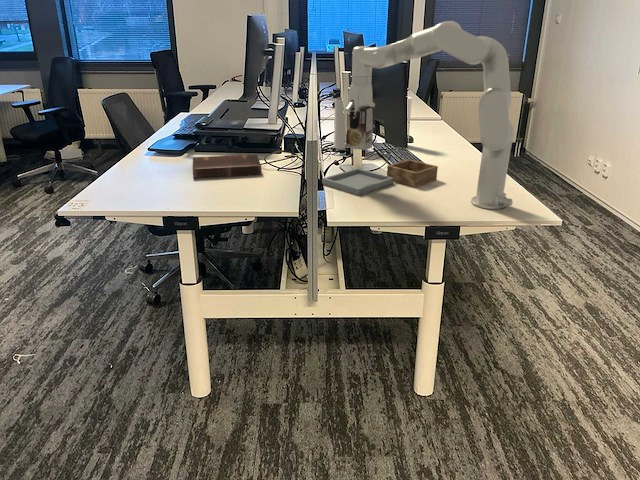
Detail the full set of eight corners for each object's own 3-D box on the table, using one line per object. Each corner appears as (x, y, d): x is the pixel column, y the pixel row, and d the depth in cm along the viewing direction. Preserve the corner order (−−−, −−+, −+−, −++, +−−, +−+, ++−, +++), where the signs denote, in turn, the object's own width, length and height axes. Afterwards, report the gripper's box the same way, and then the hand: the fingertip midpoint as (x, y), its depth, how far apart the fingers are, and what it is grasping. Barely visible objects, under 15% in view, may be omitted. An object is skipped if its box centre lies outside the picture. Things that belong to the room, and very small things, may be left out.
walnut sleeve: (436, 179, 222) (437, 166, 220) (415, 187, 212) (416, 173, 210) (407, 172, 232) (408, 159, 229) (386, 179, 222) (387, 165, 220)
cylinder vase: (356, 151, 266) (358, 101, 256) (332, 150, 268) (333, 100, 258) (359, 145, 277) (360, 97, 267) (335, 144, 279) (336, 96, 269)
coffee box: (372, 147, 210) (374, 106, 204) (365, 150, 205) (367, 109, 199) (353, 144, 215) (354, 104, 208) (345, 147, 210) (346, 106, 203)
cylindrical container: (407, 147, 274) (411, 98, 264) (394, 146, 275) (397, 98, 265) (408, 144, 280) (412, 96, 270) (395, 143, 282) (398, 96, 272)
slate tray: (393, 183, 217) (393, 177, 216) (358, 195, 203) (358, 189, 202) (357, 173, 230) (357, 168, 229) (322, 184, 216) (322, 178, 215)
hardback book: (193, 180, 221) (192, 168, 219) (193, 168, 238) (192, 157, 236) (261, 176, 227) (261, 165, 225) (257, 164, 244) (256, 154, 242)
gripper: (368, 77, 208) (366, 122, 215) (338, 81, 196) (338, 128, 204) (383, 79, 203) (381, 125, 210) (353, 83, 192) (352, 131, 199)
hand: (359, 126), depth 207 cm, fingers closed on coffee box, 7 cm apart
